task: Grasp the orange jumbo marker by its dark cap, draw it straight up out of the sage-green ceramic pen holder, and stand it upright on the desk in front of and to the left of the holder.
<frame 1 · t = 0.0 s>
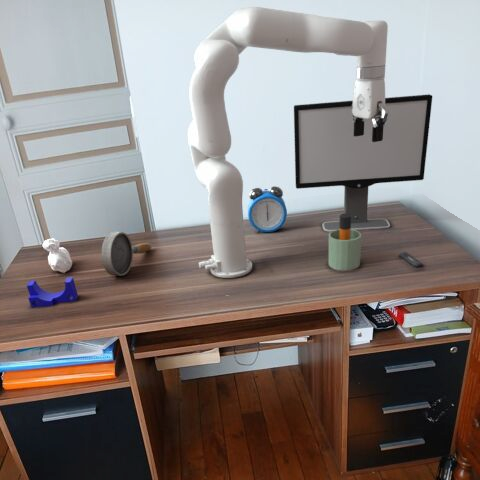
hand: (367, 138, 146), 31 cm above the table, tool pointing down, fingers open, 9 cm apart
usb stick: (410, 263, 145), on the table
alarm clock: (268, 230, 176), on the table
computer monitor: (356, 226, 173), on the table
marker: (344, 263, 147), point 1 cm above the table, touching pen holder
blue cradle stand: (55, 302, 142), on the table
frying pan: (131, 265, 160), on the table
bust: (61, 269, 162), on the table
pen holder: (344, 265, 147), on the table, touching marker
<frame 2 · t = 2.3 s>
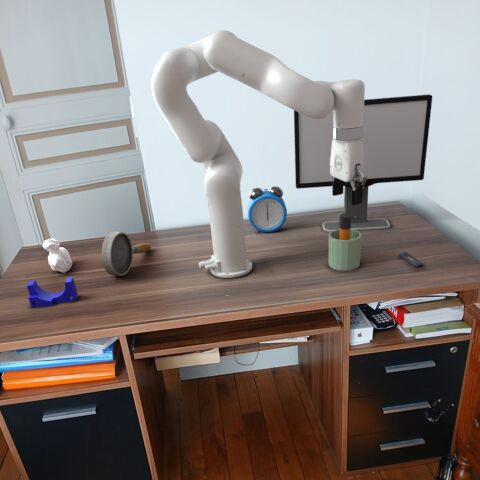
hand: (346, 199, 137), 20 cm above the table, tool pointing down, fingers open, 9 cm apart
nothing on the table moved.
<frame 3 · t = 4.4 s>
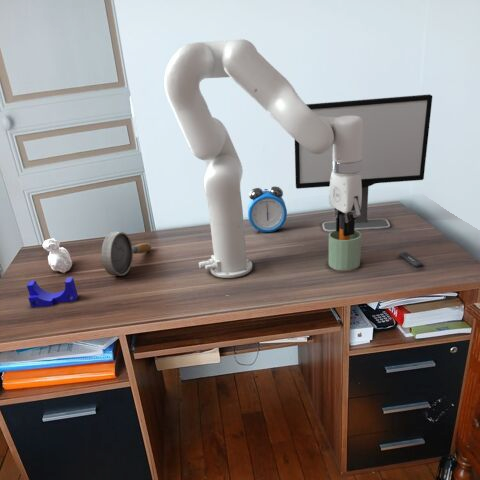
hand: (344, 232, 142), 10 cm above the table, tool pointing down, fingers closed on marker, 3 cm apart
marker: (344, 263, 147), point 1 cm above the table, touching gripper, pen holder
everything else where it was.
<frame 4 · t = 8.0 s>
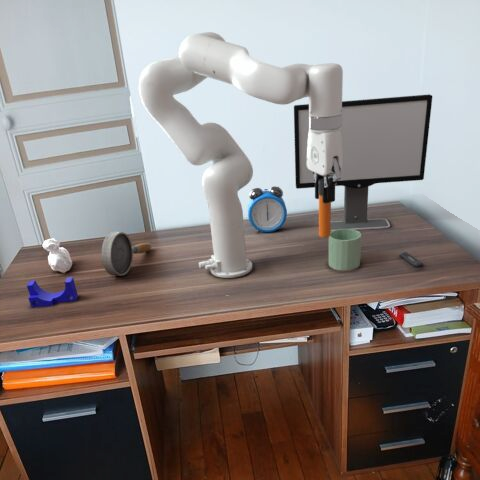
hand: (324, 199, 127), 23 cm above the table, tool pointing down, fingers closed on marker, 3 cm apart
marker: (324, 235, 132), point 14 cm above the table, touching gripper
pen holder: (344, 265, 147), on the table
everything else where it was.
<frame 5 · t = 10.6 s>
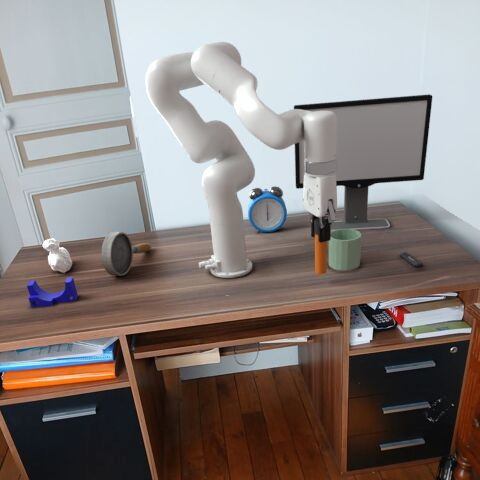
hand: (320, 238, 130), 14 cm above the table, tool pointing down, fingers closed on marker, 3 cm apart
marker: (320, 271, 135), point 4 cm above the table, touching gripper
everything else where it was.
when the fingers open (10 cm above the table, at t = 12.0 s): marker stays where it is, on the table.
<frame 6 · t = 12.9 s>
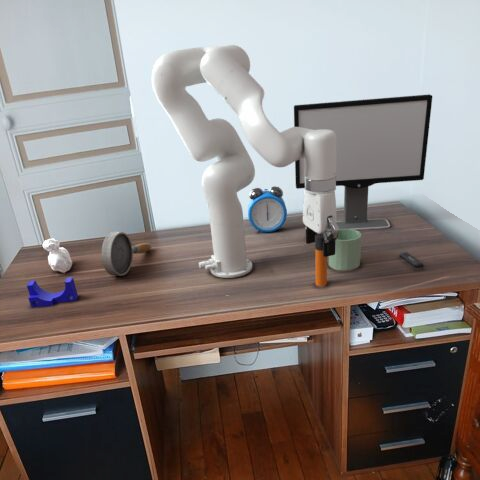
hand: (320, 248, 132), 11 cm above the table, tool pointing down, fingers open, 9 cm apart
marker: (321, 285, 137), on the table
everything else where it was.
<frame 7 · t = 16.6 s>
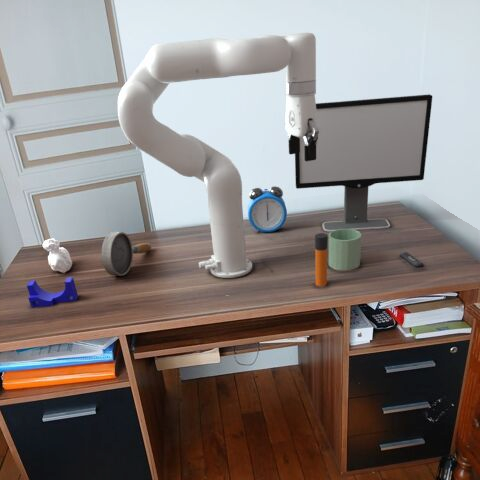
hand: (302, 156, 138), 30 cm above the table, tool pointing down, fingers open, 9 cm apart
nothing on the table moved.
at the end: marker inside the target area (0.3 cm from its centre), on the table; marker tilted 0°; the gripper is holding nothing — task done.
